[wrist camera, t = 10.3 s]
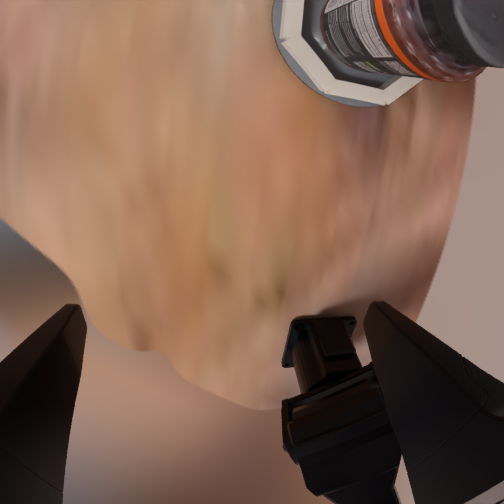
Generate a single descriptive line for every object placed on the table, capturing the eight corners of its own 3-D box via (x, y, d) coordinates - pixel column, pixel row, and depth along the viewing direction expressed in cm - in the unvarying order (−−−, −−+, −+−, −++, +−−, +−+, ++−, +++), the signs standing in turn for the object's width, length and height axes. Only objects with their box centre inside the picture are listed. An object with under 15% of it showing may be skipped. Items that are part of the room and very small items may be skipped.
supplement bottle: (393, -7, 13) (524, -29, 4) (404, 73, 17) (540, 102, 7) (308, -13, 13) (414, -80, 4) (322, 74, 16) (445, 90, 7)
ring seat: (413, 119, 19) (425, 123, 18) (264, 93, 17) (268, 94, 16) (426, -12, 13) (439, -15, 12) (278, -58, 12) (284, -67, 10)
